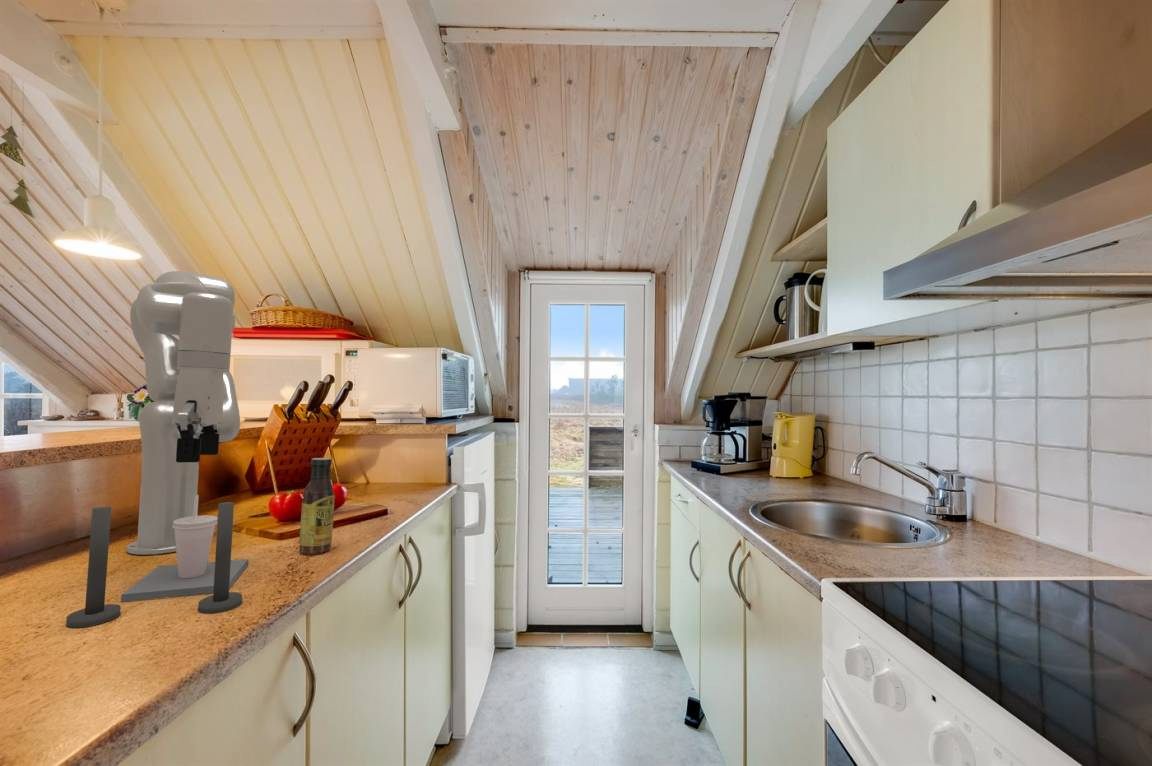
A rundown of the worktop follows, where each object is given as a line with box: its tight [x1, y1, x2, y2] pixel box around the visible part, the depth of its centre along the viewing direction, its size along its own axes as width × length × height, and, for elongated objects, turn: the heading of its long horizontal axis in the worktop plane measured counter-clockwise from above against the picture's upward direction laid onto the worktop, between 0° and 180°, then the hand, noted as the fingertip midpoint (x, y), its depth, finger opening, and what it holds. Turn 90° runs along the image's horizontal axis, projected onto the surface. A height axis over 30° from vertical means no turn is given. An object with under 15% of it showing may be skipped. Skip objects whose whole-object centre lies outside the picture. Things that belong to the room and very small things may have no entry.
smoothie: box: [172, 494, 218, 578], centre depth 86 cm, size 6×6×14 cm
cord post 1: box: [65, 506, 122, 629], centre depth 71 cm, size 6×6×16 cm
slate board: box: [120, 558, 250, 603], centre depth 86 cm, size 14×14×1 cm
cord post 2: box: [197, 501, 243, 614], centre depth 77 cm, size 6×6×16 cm
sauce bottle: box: [298, 457, 336, 555], centre depth 105 cm, size 6×6×20 cm
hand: (198, 458), depth 87 cm, fingers open, 9 cm apart
